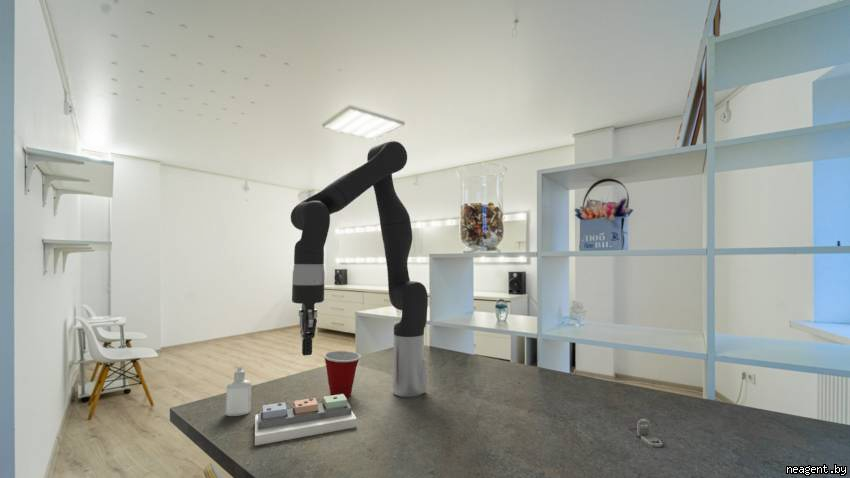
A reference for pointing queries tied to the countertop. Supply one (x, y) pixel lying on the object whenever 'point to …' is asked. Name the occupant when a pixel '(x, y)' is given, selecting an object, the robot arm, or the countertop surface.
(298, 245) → the robot arm
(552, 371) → the countertop surface
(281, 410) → the key two
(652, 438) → the strap clip
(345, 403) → the key one
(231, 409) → the eye dropper bottle
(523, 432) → the countertop surface
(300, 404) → the key three
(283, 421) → the keypad
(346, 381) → the plastic cup
